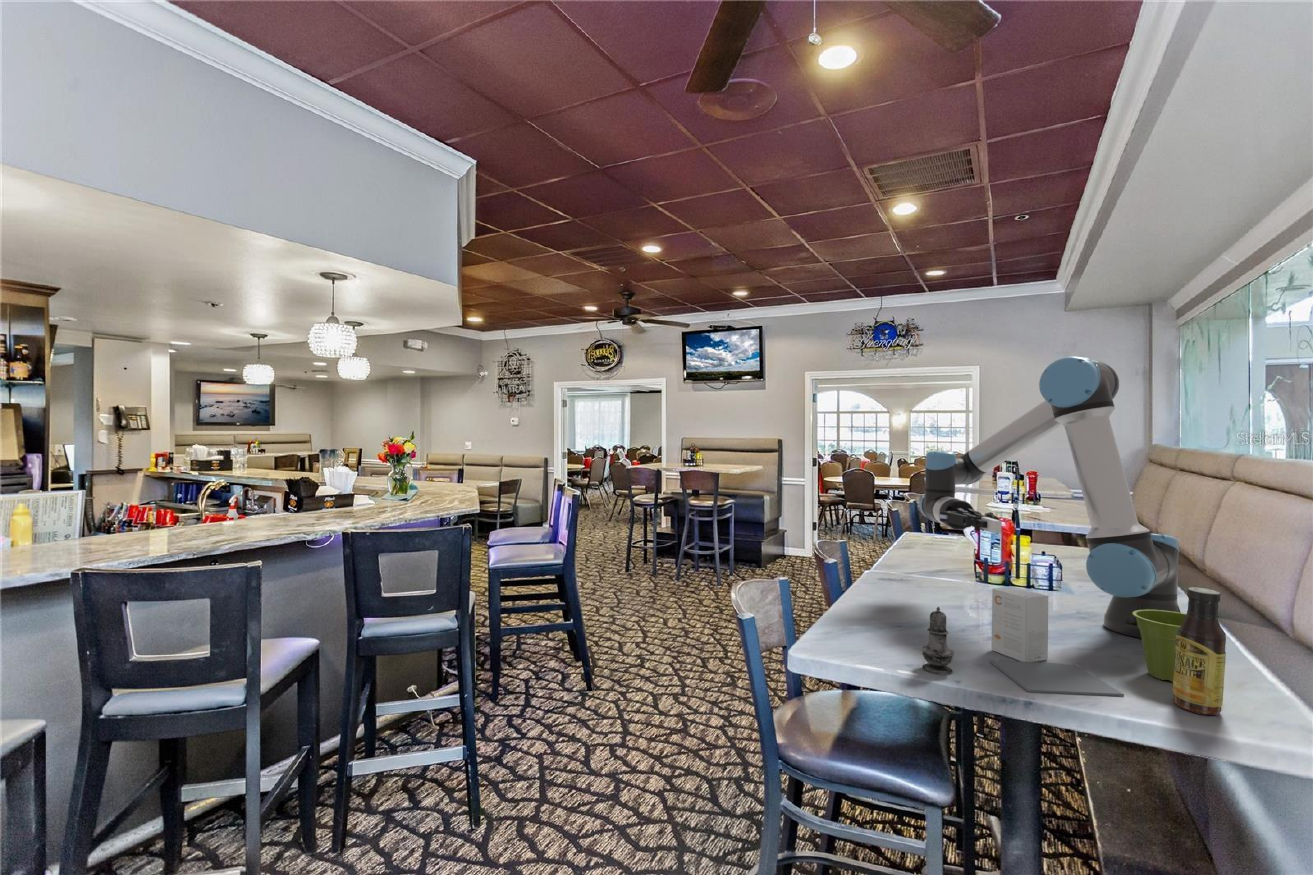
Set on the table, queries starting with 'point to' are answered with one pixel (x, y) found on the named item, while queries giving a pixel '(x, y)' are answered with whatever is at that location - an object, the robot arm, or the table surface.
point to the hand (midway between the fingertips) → (998, 527)
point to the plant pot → (1159, 640)
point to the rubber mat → (1054, 678)
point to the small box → (1020, 624)
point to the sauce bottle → (1200, 655)
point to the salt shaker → (937, 646)
